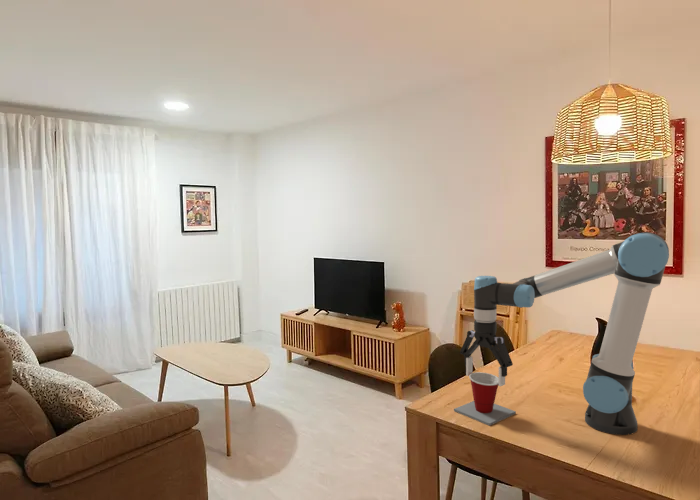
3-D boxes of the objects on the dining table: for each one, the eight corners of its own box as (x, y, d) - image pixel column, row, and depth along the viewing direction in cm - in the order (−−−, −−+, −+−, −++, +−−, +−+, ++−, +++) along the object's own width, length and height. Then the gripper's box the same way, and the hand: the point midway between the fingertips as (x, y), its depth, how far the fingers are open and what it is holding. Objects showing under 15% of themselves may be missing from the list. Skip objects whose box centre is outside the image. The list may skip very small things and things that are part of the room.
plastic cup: (492, 419, 156) (492, 384, 155) (463, 411, 163) (463, 377, 162) (505, 409, 164) (506, 376, 163) (477, 401, 171) (477, 369, 170)
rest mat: (515, 413, 162) (515, 411, 162) (489, 425, 153) (489, 423, 153) (480, 400, 174) (480, 398, 174) (453, 411, 165) (453, 408, 165)
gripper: (523, 324, 153) (523, 387, 155) (463, 313, 173) (463, 368, 175) (510, 328, 149) (510, 392, 150) (450, 316, 169) (450, 373, 170)
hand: (485, 379), depth 163 cm, fingers open, 13 cm apart
